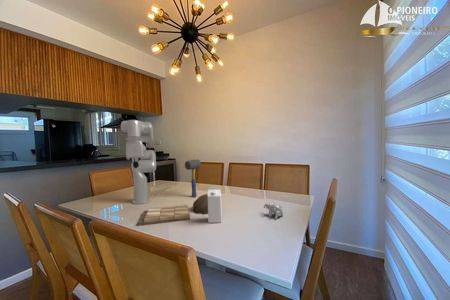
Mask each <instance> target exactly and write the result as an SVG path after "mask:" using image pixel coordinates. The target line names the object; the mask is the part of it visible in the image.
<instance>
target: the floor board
mask: <svg viewBox="0 0 450 300" xmlns="http://www.w3.org/2000/svg"><path fill="white" fill-rule="evenodd" d="M161 209H162V210H161V214H158V215H149V216H146V215H147V212H148V210H149V209H148V210H143V212H142V214H141V217H140V219H139V220H138V224H137V225H138V226H139V227H141V226H147V225H156V224H157V225H158V224H163V223H164V224H165V223H172V222H173V223H174V222H182V221H190V220H191V216H190V209H189V206H188V204H177V205H165V206H161Z"/></svg>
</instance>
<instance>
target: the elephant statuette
mask: <svg viewBox="0 0 450 300" xmlns="http://www.w3.org/2000/svg"><path fill="white" fill-rule="evenodd" d="M263 209H267V210H268V217H269V218H272V216H273V215H274V214H275V216H274V220H277V219H278V216H281V217H283V216H284V211H283V210H282V205H278V204H276V203H275V202H274V201H272V202H269V203H265V204H264V206H263Z"/></svg>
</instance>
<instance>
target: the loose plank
mask: <svg viewBox="0 0 450 300" xmlns="http://www.w3.org/2000/svg"><path fill="white" fill-rule="evenodd" d="M161 210H162V206H161V207H160V206H159V207H149V208H148V212H147V215H146V216H149V215H158V214H161Z"/></svg>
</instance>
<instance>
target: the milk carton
mask: <svg viewBox="0 0 450 300" xmlns="http://www.w3.org/2000/svg"><path fill="white" fill-rule="evenodd" d="M207 194H208V214H207V215H208V216H207V217H208V221H207V222H208V224H209V223H211V224H213V223H222V220H223V216H222V215H223V210H222V209H223V208H222V205H223V204H222V189H221V187H220V186H216V187H211V186H210V187H208V188H207Z"/></svg>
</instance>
